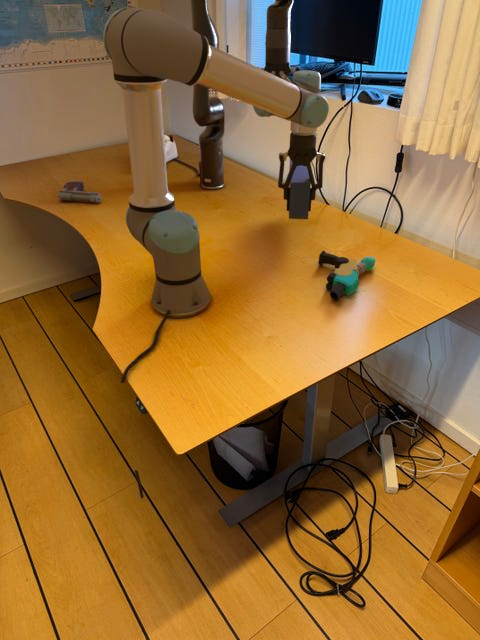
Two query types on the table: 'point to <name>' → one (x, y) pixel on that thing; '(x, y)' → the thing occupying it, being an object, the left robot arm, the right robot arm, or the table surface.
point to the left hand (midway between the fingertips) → (298, 209)
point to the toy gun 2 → (344, 273)
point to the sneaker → (170, 147)
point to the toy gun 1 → (78, 193)
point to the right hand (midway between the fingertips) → (276, 103)
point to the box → (299, 193)
